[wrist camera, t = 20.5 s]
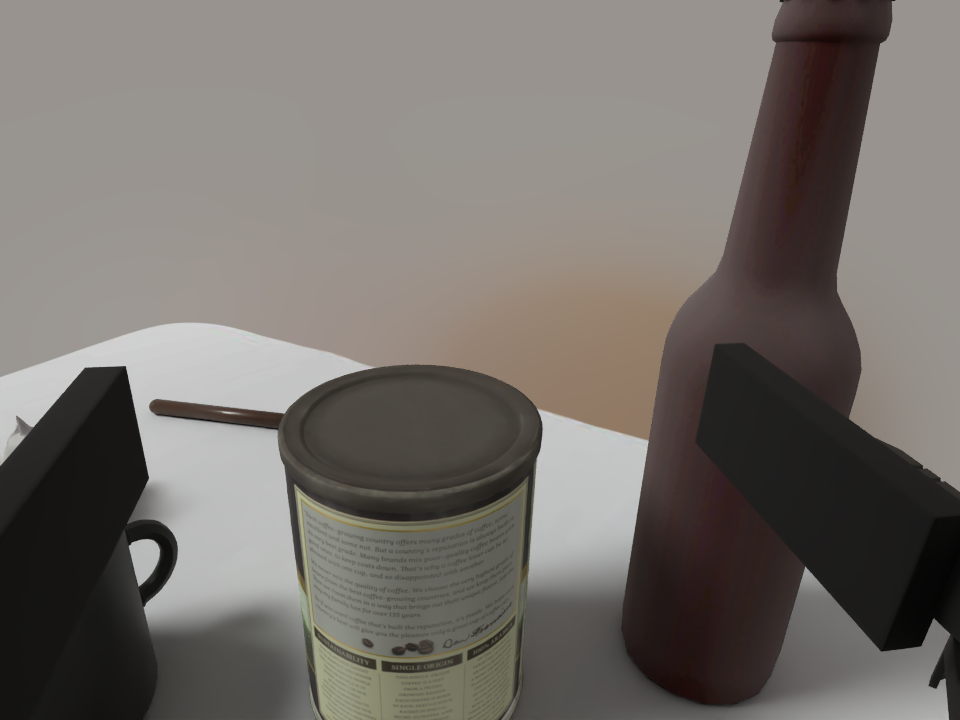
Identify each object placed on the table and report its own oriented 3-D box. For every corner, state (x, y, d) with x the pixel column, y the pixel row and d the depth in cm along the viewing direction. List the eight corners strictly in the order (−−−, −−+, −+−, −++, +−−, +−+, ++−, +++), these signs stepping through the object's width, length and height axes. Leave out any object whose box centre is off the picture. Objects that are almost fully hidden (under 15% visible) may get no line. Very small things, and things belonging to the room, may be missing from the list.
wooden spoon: (134, 425, 52) (131, 411, 52) (168, 399, 56) (165, 387, 56) (364, 453, 49) (363, 439, 49) (382, 424, 53) (382, 411, 53)
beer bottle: (766, 610, 36) (937, -16, 24) (779, 731, 29) (1027, -51, 17) (627, 577, 38) (719, -15, 26) (610, 684, 31) (724, -46, 19)
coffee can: (273, 652, 32) (238, 400, 27) (444, 567, 38) (446, 346, 32) (374, 830, 25) (356, 534, 19) (568, 692, 31) (598, 433, 25)
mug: (247, 655, 32) (223, 504, 28) (-36, 882, 23) (-126, 703, 19) (140, 575, 37) (107, 437, 33) (-130, 736, 28) (-216, 571, 24)
